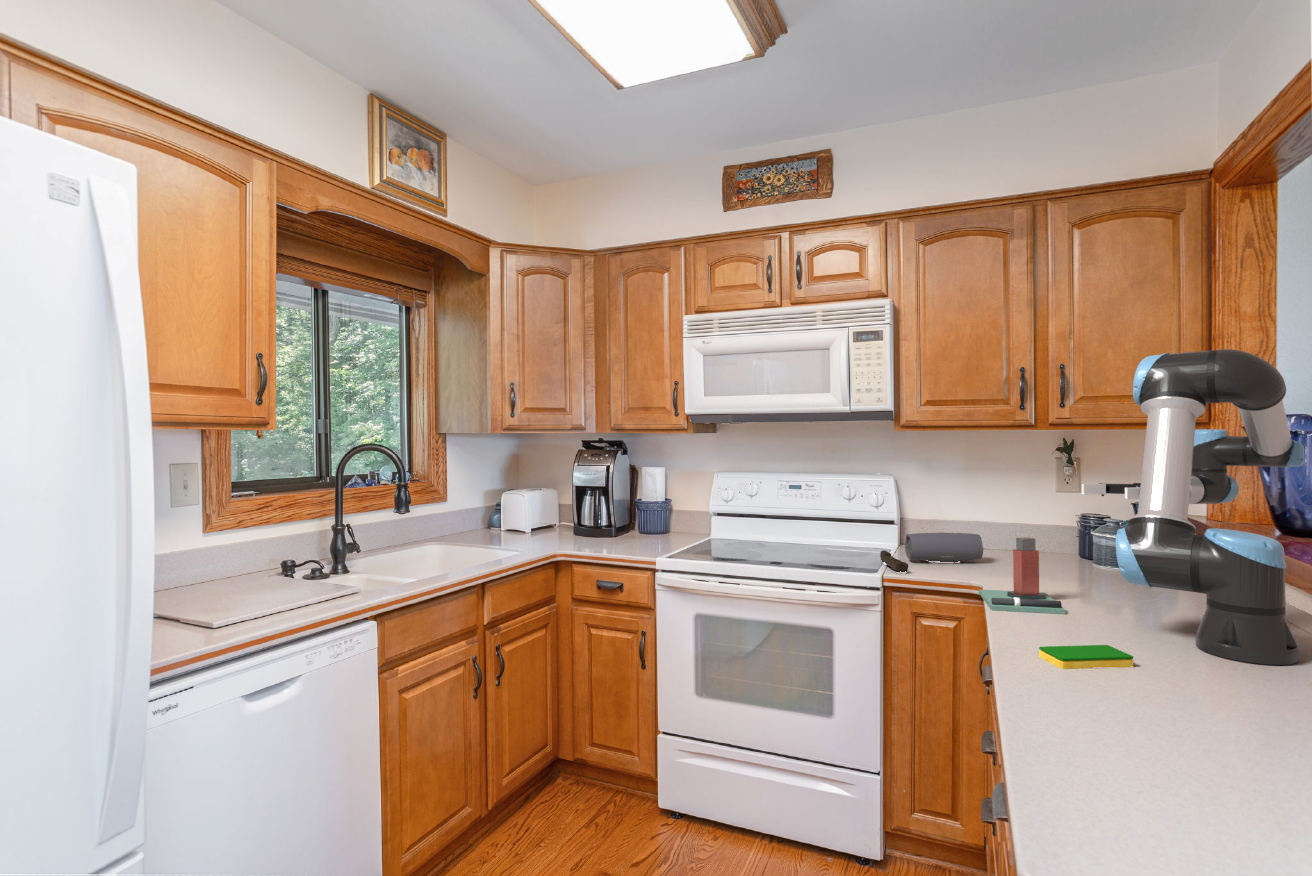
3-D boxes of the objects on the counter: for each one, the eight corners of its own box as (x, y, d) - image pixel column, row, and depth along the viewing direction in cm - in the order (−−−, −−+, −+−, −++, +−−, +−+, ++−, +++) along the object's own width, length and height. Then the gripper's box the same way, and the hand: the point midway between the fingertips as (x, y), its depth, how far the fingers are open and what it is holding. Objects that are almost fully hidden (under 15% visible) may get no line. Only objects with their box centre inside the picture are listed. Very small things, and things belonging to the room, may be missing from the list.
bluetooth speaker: (973, 560, 230) (973, 530, 230) (984, 565, 220) (983, 534, 220) (904, 559, 232) (904, 530, 232) (912, 565, 223) (911, 534, 223)
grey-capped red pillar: (1045, 599, 171) (1045, 539, 171) (1020, 600, 170) (1019, 540, 170) (1032, 594, 176) (1031, 536, 176) (1007, 596, 175) (1006, 537, 175)
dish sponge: (1134, 669, 125) (1134, 656, 125) (1061, 671, 125) (1061, 658, 125) (1107, 656, 132) (1107, 644, 132) (1038, 658, 132) (1038, 646, 132)
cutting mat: (1065, 614, 161) (1065, 601, 161) (991, 610, 166) (991, 598, 166) (1045, 596, 178) (1045, 585, 178) (978, 593, 183) (978, 582, 183)
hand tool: (908, 574, 209) (908, 559, 209) (895, 574, 209) (895, 559, 209) (890, 563, 228) (890, 549, 228) (878, 563, 228) (877, 549, 228)
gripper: (1223, 509, 163) (1146, 511, 160) (1135, 500, 188) (1066, 501, 185) (1223, 478, 163) (1146, 479, 160) (1135, 473, 188) (1066, 474, 185)
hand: (1103, 491), depth 172 cm, fingers open, 13 cm apart
